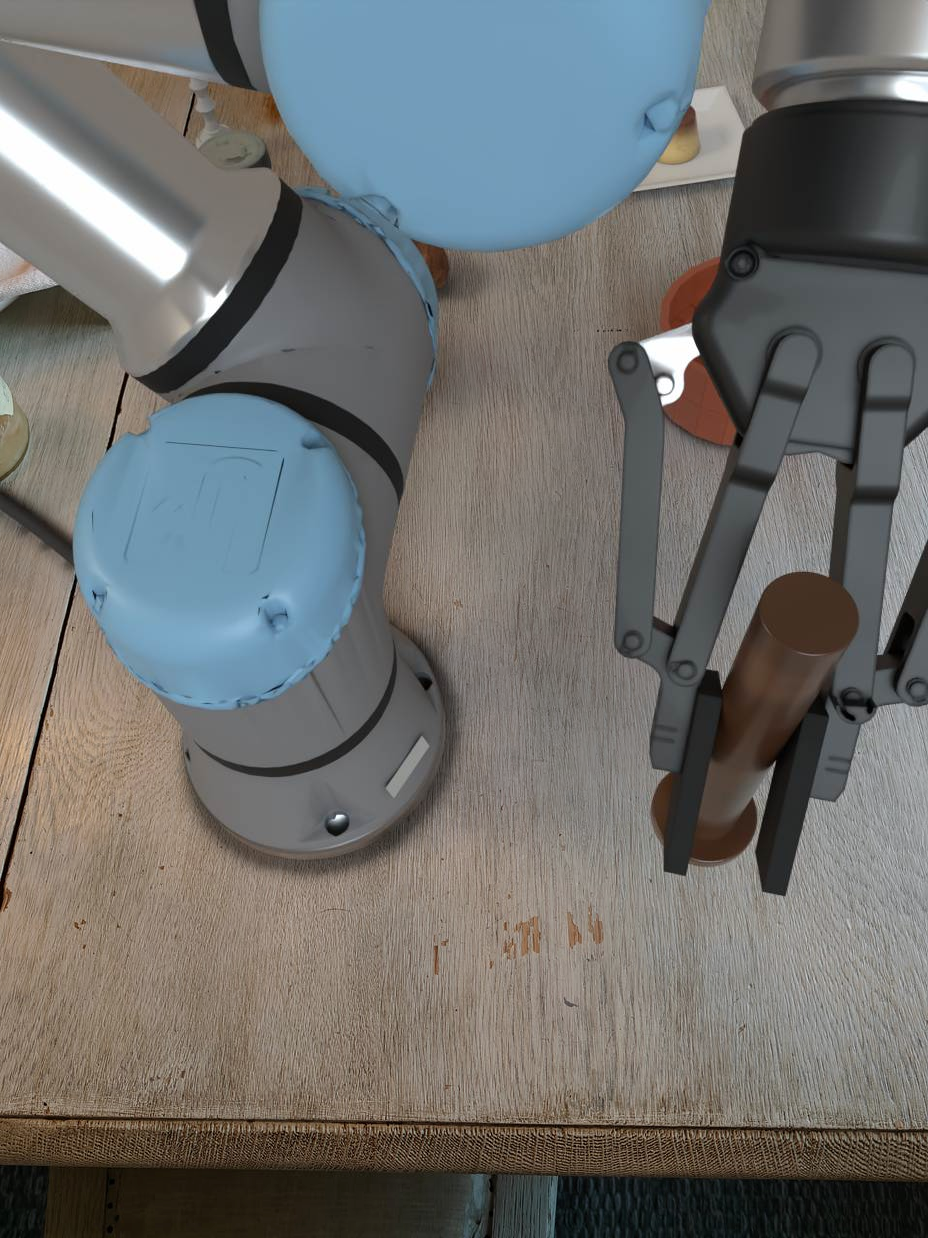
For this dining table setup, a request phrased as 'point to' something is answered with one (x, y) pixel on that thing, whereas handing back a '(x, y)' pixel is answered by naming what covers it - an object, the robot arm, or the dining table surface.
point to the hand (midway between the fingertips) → (721, 862)
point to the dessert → (700, 143)
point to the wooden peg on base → (764, 706)
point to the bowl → (695, 360)
